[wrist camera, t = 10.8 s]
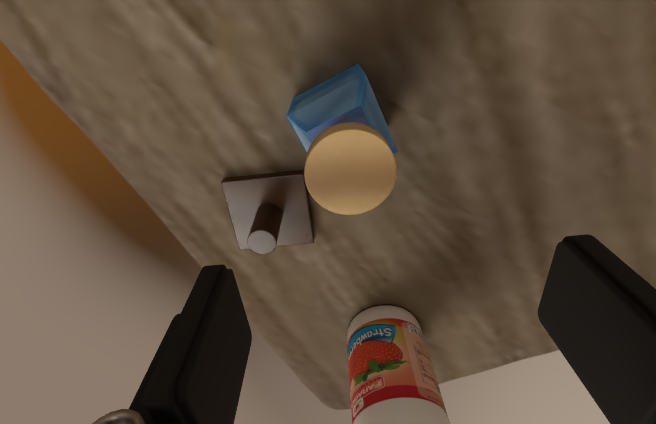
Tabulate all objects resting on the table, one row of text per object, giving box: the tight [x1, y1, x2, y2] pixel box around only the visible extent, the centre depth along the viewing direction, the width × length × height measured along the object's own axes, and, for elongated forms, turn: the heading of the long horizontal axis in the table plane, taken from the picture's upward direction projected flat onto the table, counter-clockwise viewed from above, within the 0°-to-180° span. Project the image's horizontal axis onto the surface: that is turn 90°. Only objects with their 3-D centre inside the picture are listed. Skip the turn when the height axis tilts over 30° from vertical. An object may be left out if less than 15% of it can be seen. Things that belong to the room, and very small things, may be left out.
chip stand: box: [221, 170, 314, 254], centre depth 33 cm, size 8×8×6 cm
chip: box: [304, 122, 397, 215], centre depth 20 cm, size 5×5×1 cm
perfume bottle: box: [287, 64, 398, 154], centre depth 26 cm, size 6×6×12 cm
